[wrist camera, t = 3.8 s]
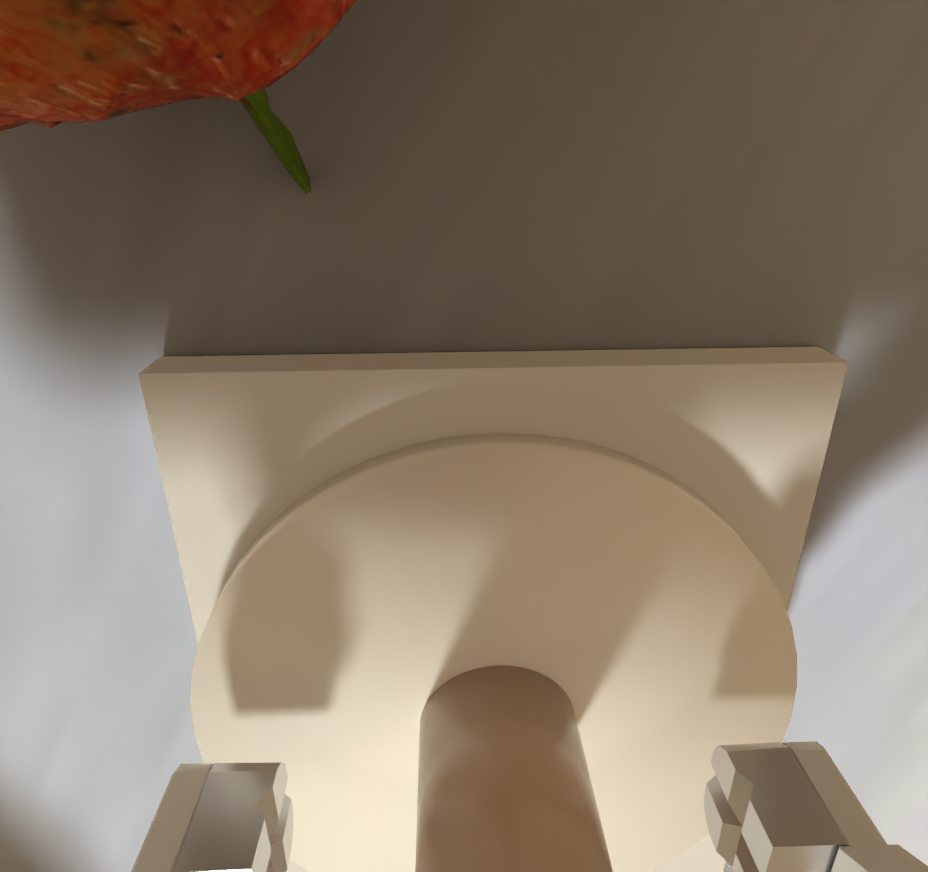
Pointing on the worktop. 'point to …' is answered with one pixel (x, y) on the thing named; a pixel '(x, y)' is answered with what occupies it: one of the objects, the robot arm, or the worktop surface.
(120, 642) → the worktop surface
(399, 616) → the lid
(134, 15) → the pumpkin
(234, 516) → the mat
